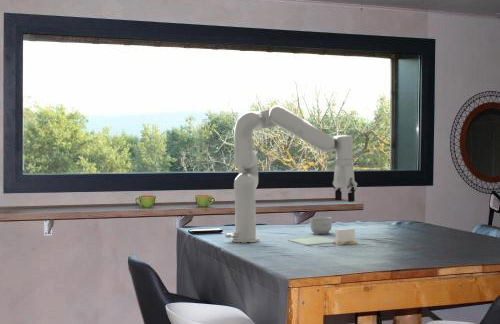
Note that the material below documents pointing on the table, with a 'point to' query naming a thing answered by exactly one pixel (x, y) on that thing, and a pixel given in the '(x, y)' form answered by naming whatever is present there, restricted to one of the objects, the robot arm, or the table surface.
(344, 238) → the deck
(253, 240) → the robot arm
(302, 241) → the mat
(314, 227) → the teacup
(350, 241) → the holder
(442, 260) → the table surface
